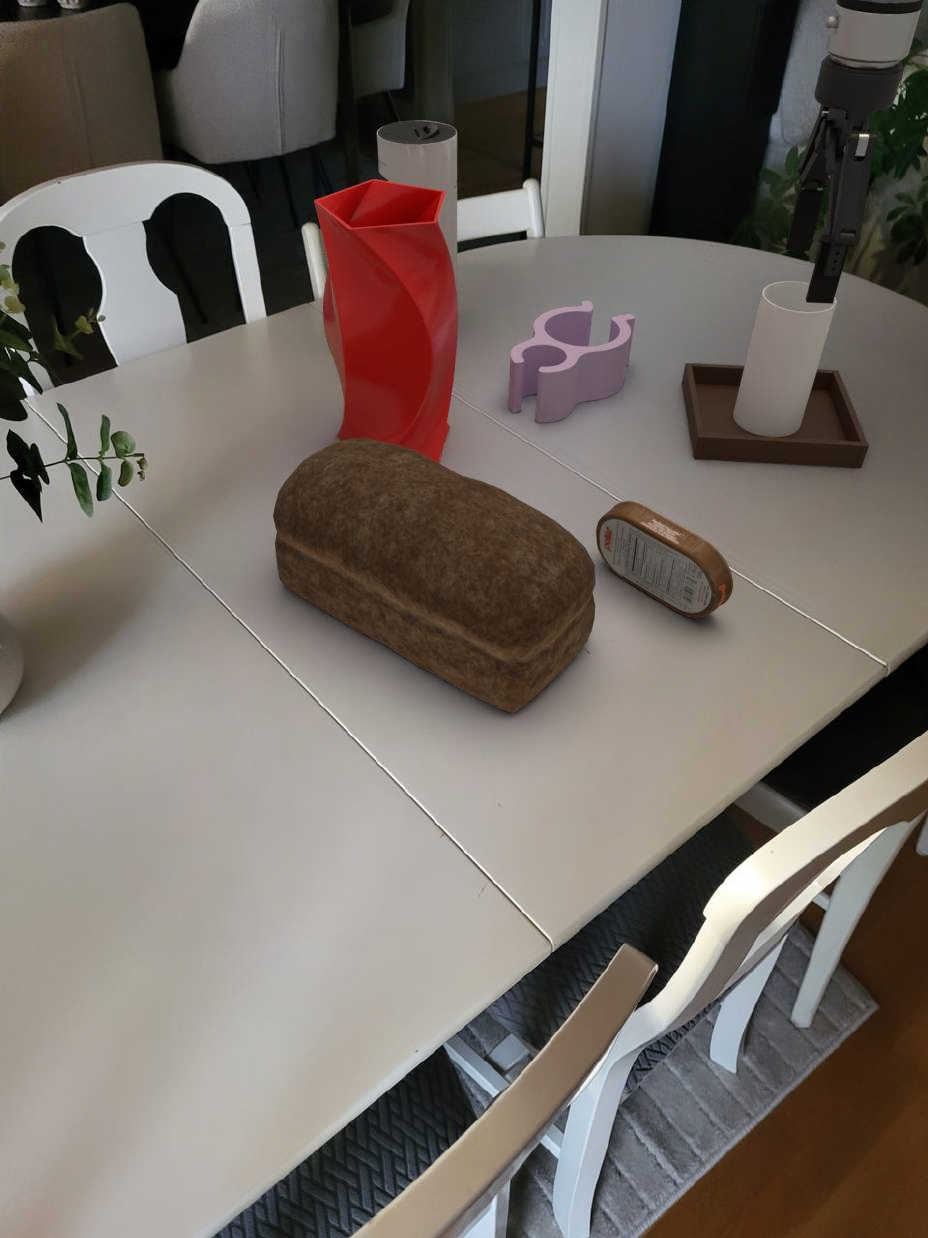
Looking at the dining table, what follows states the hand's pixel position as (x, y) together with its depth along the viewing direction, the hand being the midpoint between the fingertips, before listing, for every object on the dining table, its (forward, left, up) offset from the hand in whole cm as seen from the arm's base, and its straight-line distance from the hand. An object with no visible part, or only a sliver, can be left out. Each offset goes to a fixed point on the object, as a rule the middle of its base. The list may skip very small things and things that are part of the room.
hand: (807, 274), depth 105 cm
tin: (+16, +33, -19) cm, 42 cm away
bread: (+38, +38, -19) cm, 57 cm away
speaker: (+46, -23, -19) cm, 55 cm away
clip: (+25, -7, -19) cm, 32 cm away
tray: (0, 0, -19) cm, 19 cm away
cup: (0, 0, -19) cm, 19 cm away
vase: (+46, +9, -19) cm, 51 cm away
